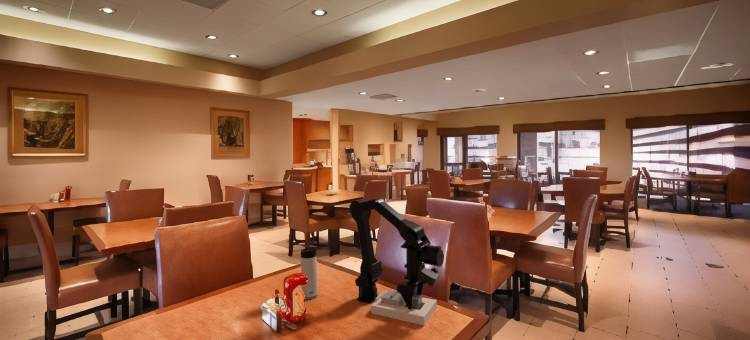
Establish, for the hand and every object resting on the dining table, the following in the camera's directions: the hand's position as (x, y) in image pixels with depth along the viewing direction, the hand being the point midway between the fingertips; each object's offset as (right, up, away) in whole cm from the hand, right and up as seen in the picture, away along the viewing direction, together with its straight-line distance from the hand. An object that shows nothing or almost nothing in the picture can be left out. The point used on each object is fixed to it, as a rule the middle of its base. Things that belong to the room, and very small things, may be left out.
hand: (414, 303), depth 124 cm
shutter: (-7, 0, +4) cm, 8 cm away
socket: (-4, -3, +2) cm, 5 cm away
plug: (0, -3, 0) cm, 3 cm away
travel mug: (-40, -3, +15) cm, 43 cm away
